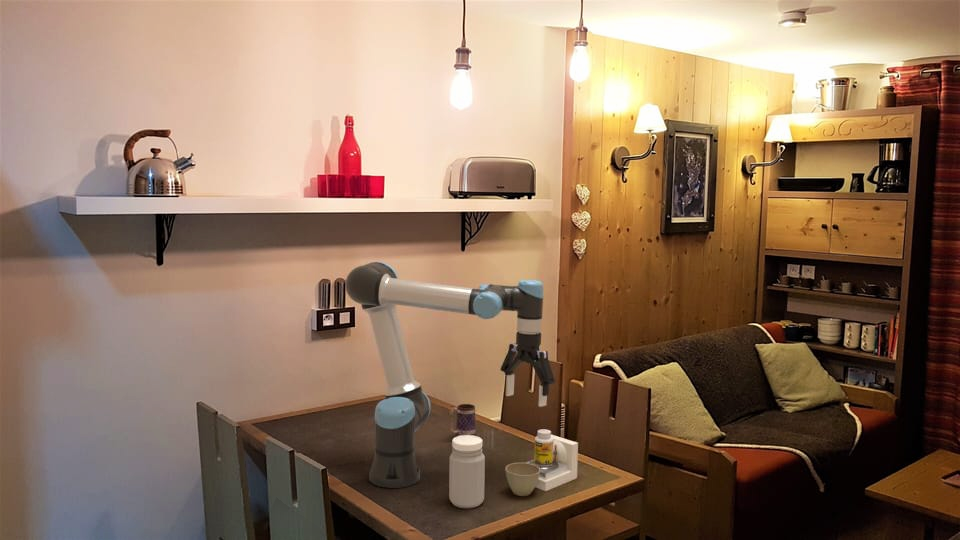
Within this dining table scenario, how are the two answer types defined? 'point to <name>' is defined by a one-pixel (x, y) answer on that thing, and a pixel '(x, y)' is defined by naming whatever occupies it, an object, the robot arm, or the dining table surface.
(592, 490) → the dining table surface
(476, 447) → the jar
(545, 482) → the scale base
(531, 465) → the flower pot
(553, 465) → the pan
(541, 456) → the supplement bottle
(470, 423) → the mug
